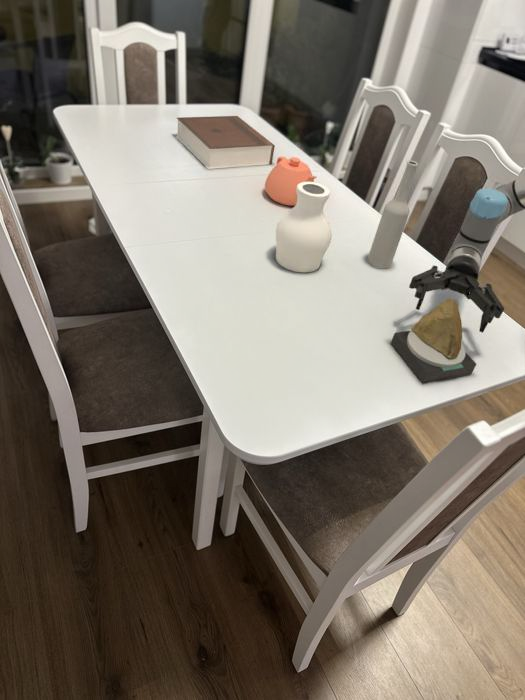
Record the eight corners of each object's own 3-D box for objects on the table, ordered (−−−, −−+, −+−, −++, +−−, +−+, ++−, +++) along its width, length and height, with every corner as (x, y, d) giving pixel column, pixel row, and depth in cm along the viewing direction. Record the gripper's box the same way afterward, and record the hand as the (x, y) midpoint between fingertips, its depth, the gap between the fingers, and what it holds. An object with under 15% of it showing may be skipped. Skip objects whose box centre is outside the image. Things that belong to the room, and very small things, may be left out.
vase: (333, 260, 145) (352, 190, 132) (308, 281, 135) (326, 208, 122) (288, 240, 149) (302, 170, 136) (260, 259, 140) (273, 186, 127)
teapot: (328, 213, 166) (338, 174, 158) (284, 217, 159) (292, 177, 151) (293, 181, 180) (301, 144, 172) (252, 184, 173) (257, 146, 165)
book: (235, 133, 205) (237, 115, 201) (271, 164, 188) (274, 145, 184) (175, 136, 194) (176, 117, 190) (208, 168, 177) (210, 149, 173)
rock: (475, 354, 112) (463, 320, 118) (466, 329, 106) (454, 295, 113) (424, 370, 116) (415, 336, 122) (412, 347, 110) (403, 312, 116)
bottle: (363, 255, 149) (394, 156, 131) (384, 255, 151) (418, 157, 133) (373, 269, 144) (407, 167, 126) (395, 268, 146) (431, 169, 128)
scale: (472, 375, 117) (479, 361, 114) (423, 384, 112) (429, 370, 109) (437, 336, 126) (443, 322, 123) (390, 342, 121) (395, 329, 118)
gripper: (508, 300, 128) (503, 350, 112) (406, 265, 133) (388, 309, 117) (523, 273, 123) (519, 322, 107) (416, 239, 128) (399, 280, 112)
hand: (451, 315), depth 112 cm, fingers open, 13 cm apart
